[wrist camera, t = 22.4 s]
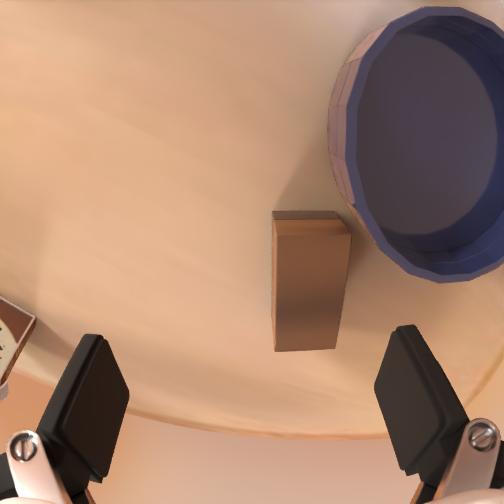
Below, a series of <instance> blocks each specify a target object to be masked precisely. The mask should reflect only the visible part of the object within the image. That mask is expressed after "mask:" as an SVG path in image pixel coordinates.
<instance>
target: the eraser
mask: <svg viewBox="0 0 504 504" xmlns="http://www.w3.org/2000/svg"><path fill="white" fill-rule="evenodd" d="M351 238H352V234H351V233H350V231H349V230H348V229H347V227H346V226H345V225H344V223H343V222H342V221H341V219H340V218H339V216H338V215H337V214H336V212H335V211H272V311H271V316H272V328H273V340H274V351H275V352H288V351H308V350H323V349H335V347H336V342H337V336H338V331H339V325H340V319H341V313H342V307H343V300H344V293H345V286H346V279H347V272H348V264H349V256H350V247H351Z"/></svg>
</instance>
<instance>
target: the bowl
mask: <svg viewBox="0 0 504 504" xmlns="http://www.w3.org/2000/svg"><path fill="white" fill-rule="evenodd" d="M327 132H328V149H329V154H330V160H331V166H332V169H333V173H334V176H335V179H336V183H337V185H338V187H339V190H340V193H341V195H342V197H343V199H344V200H345V202H346V204H347V205H348V207H349V209H350V211H351V212H352V213H353V215H354V216H355V218H356V219H357V221H358V222H359V224H360V226H361V227H362V229H363V230H364V231H365V232H366V233H367V235H368V236H369V237H370V238H371V239H372V241H373V242H374V243H375V244H376V246H377V247H378V248H379V249H380V250H381V251H382V252H383V253H384V254H385V255H387V256H388V257H389V258H390V259H391V260H393V261H394V262H395V263H396V264H397V265H399V266H400V267H401V268H402V269H403V270H405V271H406V272H407V273H409V274H411V275H414V276H417V277H420V278H423V279H427V280H430V281H433V282H436V283H452V282H464V281H470V280H473V279H475V278H477V277H479V276H481V275H484V274H486V273H488V272H490V271H492V270H494V269H496V268H498V267H499V266H500V265H501V264H503V263H504V31H502V30H501V29H500V28H499V27H498V26H497V25H496V24H494V23H493V22H492V21H490V20H488V19H485V18H483V17H481V16H479V15H477V14H474V13H472V12H470V11H468V10H465V9H463V8H460V7H438V6H425V7H421V8H419V9H417V10H415V11H413V12H410V13H408V14H406V15H404V16H402V17H400V18H398V19H396V20H394V21H392V22H390V23H388V24H386V25H384V26H383V27H381V28H379V29H377V30H375V31H374V32H372V33H370V34H369V35H367V36H366V38H365V39H364V40H363V41H362V42H361V43H360V44H359V45H358V46H357V47H356V48H355V49H354V51H353V52H352V53H351V55H350V56H349V57H348V59H347V60H346V62H345V63H344V65H343V67H342V69H341V71H340V73H339V75H338V77H337V80H336V83H335V86H334V89H333V92H332V96H331V101H330V106H329V112H328V126H327Z"/></svg>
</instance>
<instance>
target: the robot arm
mask: <svg viewBox="0 0 504 504" xmlns="http://www.w3.org/2000/svg"><path fill="white" fill-rule="evenodd" d="M374 391H375V394H376V397H377V400H378V403H379V406H380V409H381V411H382V414H383V417H384V420H385V423H386V426H387V429H388V432H389V435H390V438H391V441H392V445H393V448H394V451H395V454H396V457H397V460H398V463H399V467H400V469H401V470H405V472H406V475H407V476H410V475H413V474H416V473H419V476H420V479H421V482H420V484H419V486H418V488H417V490H416V492H415V494H414V496H413V498H412V500H411V502H410V504H504V441H502V440H501V436H500V431H499V429H498V428H497V426H496V425H495V424H494V423H493V422H492V421H490V420H488V419H484V418H476V419H474V420H472V421H470V420H469V418H468V416H467V414H466V412H465V410H464V408H463V406H462V404H461V403H460V401H459V399H458V397H457V395H456V393H455V391H454V389H453V387H452V386H451V384H450V382H449V380H448V378H447V376H446V375H445V373H444V371H443V369H442V368H441V366H440V364H439V363H438V361H437V360H436V359H435V357H434V355H433V354H432V352H431V350H430V349H429V347H428V345H427V344H426V342H425V340H424V339H423V337H422V335H421V334H420V332H419V330H418V329H417V327H416V326H415V325H406V326H399V327H397V328H396V331H393V332H392V334H391V337H390V340H389V343H388V346H387V349H386V352H385V355H384V358H383V361H382V364H381V367H380V370H379V373H378V375H377V378H376V381H375V384H374ZM128 401H129V389H128V387H127V385H126V383H125V381H124V378H123V376H122V374H121V372H120V369H119V367H118V365H117V362H116V360H115V358H114V355H113V353H112V350H111V348H110V345H109V343H108V341H107V340H106V339H104V338H103V336H102V335H97V334H85V335H84V336H83V337H82V339H81V341H80V343H79V344H78V346H77V348H76V350H75V352H74V354H73V355H72V357H71V359H70V361H69V363H68V365H67V367H66V369H65V371H64V373H63V375H62V377H61V379H60V381H59V383H58V385H57V387H56V389H55V391H54V393H53V395H52V397H51V399H50V401H49V403H48V405H47V407H46V410H45V412H44V414H43V416H42V418H41V420H40V423H39V425H38V427H37V430H36V432H34V431H32V430H30V429H22V430H18V431H16V432H15V433H13V435H11V436H10V438H9V440H8V442H7V446H6V452H5V453H3V454H1V455H0V504H96V503H95V501H94V500H93V498H92V496H91V494H90V492H89V490H88V489H87V487H88V483H89V480H90V481H93V482H97V483H102V480H103V477H106V476H107V475H108V472H109V468H110V464H111V460H112V457H113V453H114V449H115V445H116V441H117V438H118V435H119V431H120V428H121V424H122V421H123V417H124V414H125V411H126V407H127V404H128Z"/></svg>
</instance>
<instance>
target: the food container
mask: <svg viewBox="0 0 504 504" xmlns="http://www.w3.org/2000/svg"><path fill="white" fill-rule="evenodd" d="M35 325H36V316H34V315H32V314H30V313H28V312H27V311H25V310H23V309H21V308H20V307H18V306H16V305H14V304H13V303H11V302H9V301H8V300H6V299H4V298H3V297H1V296H0V402H1V401H2V400H3V399H4V398H5V397H6V396H7V394H8V383H7V382H6V380H7V378H8V376H9V374H10V372H11V370H12V368H13V366H14V364H15V362H16V360H17V359H18V357H19V355H20V353H21V351H22V349H23V348H24V346H25V344H26V342H27V340H28V339H29V337H30V335H31V334H32V332H33V330H34V328H35Z"/></svg>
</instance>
